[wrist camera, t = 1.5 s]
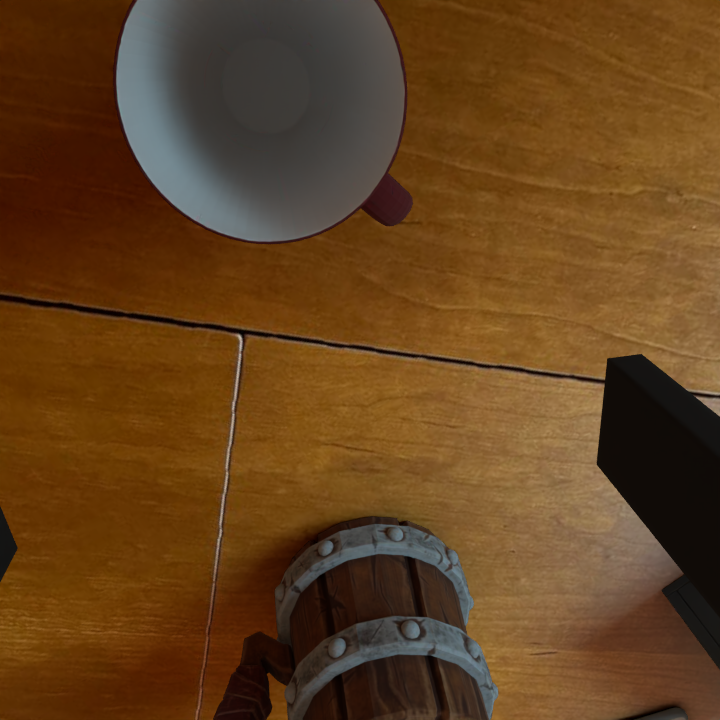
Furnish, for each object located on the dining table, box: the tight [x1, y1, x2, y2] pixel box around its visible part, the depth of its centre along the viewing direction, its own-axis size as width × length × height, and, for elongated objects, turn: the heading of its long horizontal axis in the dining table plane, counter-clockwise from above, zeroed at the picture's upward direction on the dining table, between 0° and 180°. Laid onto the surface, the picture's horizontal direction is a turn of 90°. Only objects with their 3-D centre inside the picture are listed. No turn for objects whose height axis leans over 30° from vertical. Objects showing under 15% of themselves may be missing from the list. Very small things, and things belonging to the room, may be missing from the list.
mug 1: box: [113, 0, 413, 244], centre depth 22 cm, size 10×8×10 cm
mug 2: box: [213, 516, 498, 720], centre depth 33 cm, size 12×14×15 cm
